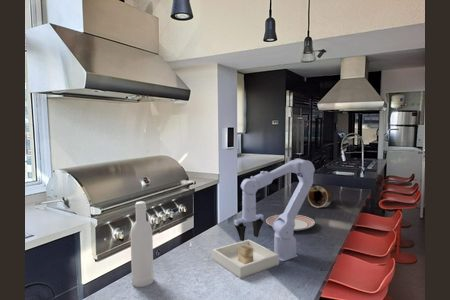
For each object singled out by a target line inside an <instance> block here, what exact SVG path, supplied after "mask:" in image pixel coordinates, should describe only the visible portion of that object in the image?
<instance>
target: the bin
mask: <svg viewBox="0 0 450 300" xmlns="http://www.w3.org/2000/svg"><path fill="white" fill-rule="evenodd" d="M246 244H247V245H249V246H250V247H252V248H253V262H251V263H248V264H245V265H244V264H243V263H241V262H240V261H238V247H239V246H243V245H246ZM211 250H212V251H211V253H212V261H214V262H215V263H217V264H219V265H220V266H221V267H222V268H224V269H225V270H227V271H229V272H230V273H231V274H233V275H234V276H236V278H238V279H240V280H241V279H244V278H245V279H246V278H247V277H249V276H253V275H255V274H256V275H257V274H258V273H261V272H263V271H266V270H269V269H273V268H274V267H278V266H279V265H280V260H279V254H277V253H275V252H274V250H272V249H269V248H267V247H264V246H263V245H261V244H259V243H257V242H254V241H253V240H251V239H246V240H245V239H244V241H241V240H240V241H238V242H235V243H230V244H228V245H224V246H220V247H216V248H213V249H211Z"/></svg>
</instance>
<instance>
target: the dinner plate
mask: <svg viewBox="0 0 450 300" xmlns="http://www.w3.org/2000/svg"><path fill="white" fill-rule="evenodd" d="M279 215H280V214H275V215H272V216H269V217H268V218H266V219H265V222H266V224H268V225H269V226H270V227H273V222H274V221H275V220H276V219H277V218H278V217H279ZM315 224H316V221H315V220H314V219H313V218H311V217H308V216H305V215H300V214H297V215H296V217H295V227H294V232H297V231H298V232H299V231H304V230H308V229H310V228H312V227H314V225H315Z"/></svg>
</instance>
